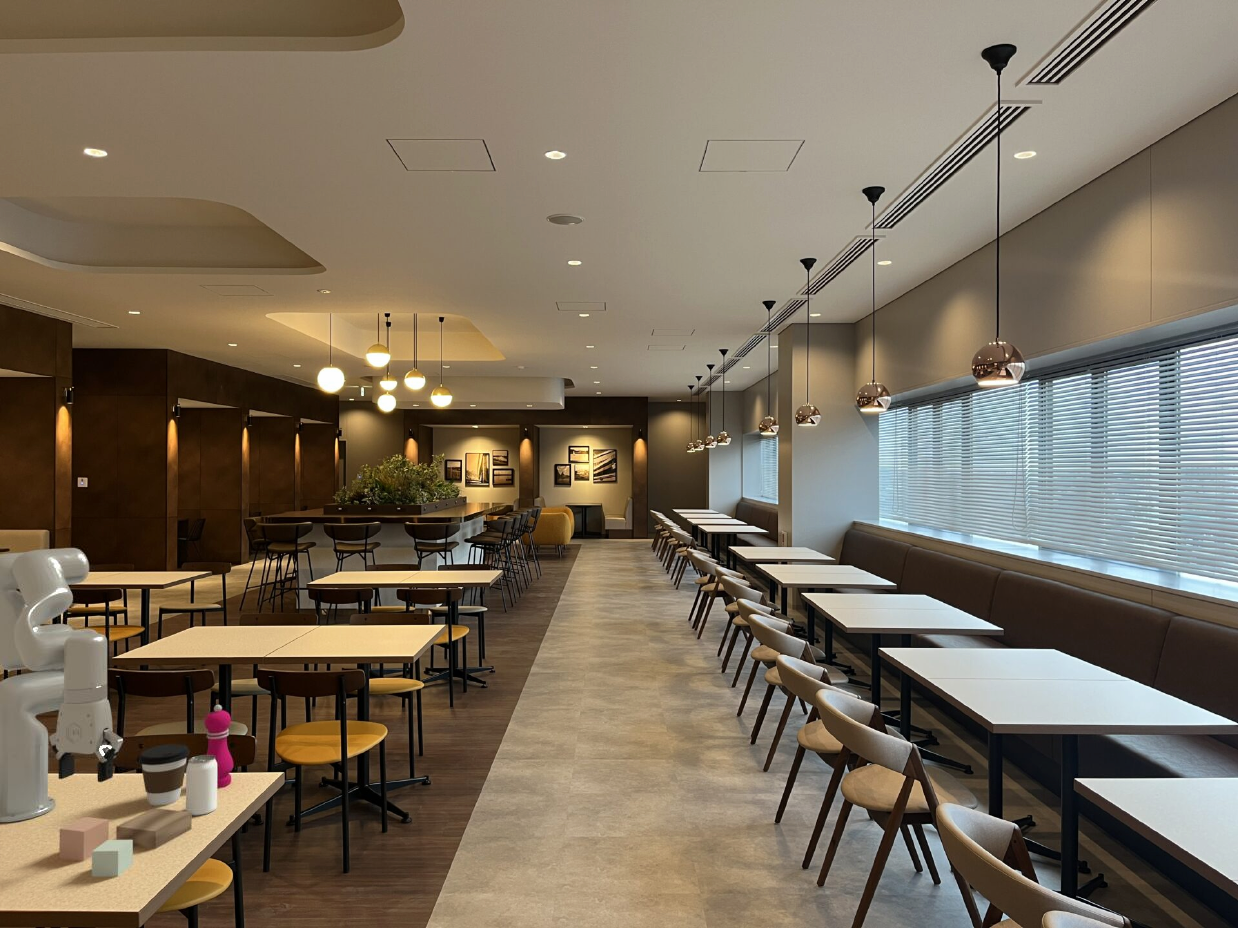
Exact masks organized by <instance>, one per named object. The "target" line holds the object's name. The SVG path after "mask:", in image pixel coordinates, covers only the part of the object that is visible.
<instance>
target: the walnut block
mask: <svg viewBox="0 0 1238 928" xmlns="http://www.w3.org/2000/svg"><path fill="white" fill-rule="evenodd" d="M192 817H193V816H192V812H186V811H182V810H181V811H180V810H173V809H164V808H155V807H153V808H151V809H149V810H148V811H146V812H143V813H141V814H139V815H137V816H134V817H133V818H131V819H130V820H127V821H125V822H122V823H121V824H119V825H117V826H116V828H115V830H116V831H115V832H116V838H115V840H133V847H138V848H146V849H152V850H153V849H154V850H156V849H159V848H160V847H161V846H164V845H166V844H167V843H170V842H171V841H172V840H174V839H176V838H178V837H180V836H182V835H184V834H186V833H187V832H189V831H191V830H192V827H193V826H192V819H193V818H192Z"/></svg>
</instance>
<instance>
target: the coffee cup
mask: <svg viewBox="0 0 1238 928" xmlns="http://www.w3.org/2000/svg"><path fill="white" fill-rule="evenodd" d="M190 753H191V752H190V749H189V746H187V745H185V744H181V743H172V744H171V743H169V744H161V745H156V746H153V747H149V748H147V749H145V750H143V751H142V752H141V753H140V756H139V757H138V763H139V764H141V766H142V767H141V772H142V777H143V783H144V789H145V793H146V796H147V801H148V803H149V805H150V806H153V805H154V807H162V806H167V805H171V804H174V803H175V802H177V801H178V800H179V799H180V796H181V793H182V792H181V791H182V787H183V786H184V785H183V784H184V779H185V775H186V767H187V758H188V757H189V756H190V755H191V754H190Z"/></svg>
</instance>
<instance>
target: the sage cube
mask: <svg viewBox="0 0 1238 928" xmlns="http://www.w3.org/2000/svg"><path fill="white" fill-rule="evenodd" d="M133 847H134V846H133V840H116V839H108V840H107V841H105V842H104V843H103V844H101V845H100V846H99V847H97V848H96V849H95V850H93V851H92V857H91V878H102V877H103V878H106V877H107V878H108V877H110V878H111V877H113V878H116V877H120V876H121V875H122V874H123V873H124V872H125V871H127V870H128V869H129V868H130V867H131V866H133V853H134V852H133V850H134V849H133Z"/></svg>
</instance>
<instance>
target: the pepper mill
mask: <svg viewBox="0 0 1238 928" xmlns="http://www.w3.org/2000/svg"><path fill="white" fill-rule="evenodd" d="M213 710H214V711H211V712H209V713H208V714H207V716H206V717H205V718H204V727H205V728H206V730H207V732H206V734H207V735H206V739H208V746H207V747H208V748H207V752H206V754H205V755H213V756H215V760H216V762H217V789H221V788H225V787H227V786H229V785H230V784H232V775H231V774H230V773H231V772H232V770H233V768H234V760H233V756H232V755H231V752H230V750H229V748H228V743H227V741H228V739H227V738H228V736H229V735H230V734H229V731H230V730H229V728H228V727H230V726H231V724H232V723H231V722H232V718H231V715H230V713H229V712H227V711H226V710H223V707H222V705H220V704H217V705H215V706H214V707H213Z"/></svg>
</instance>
